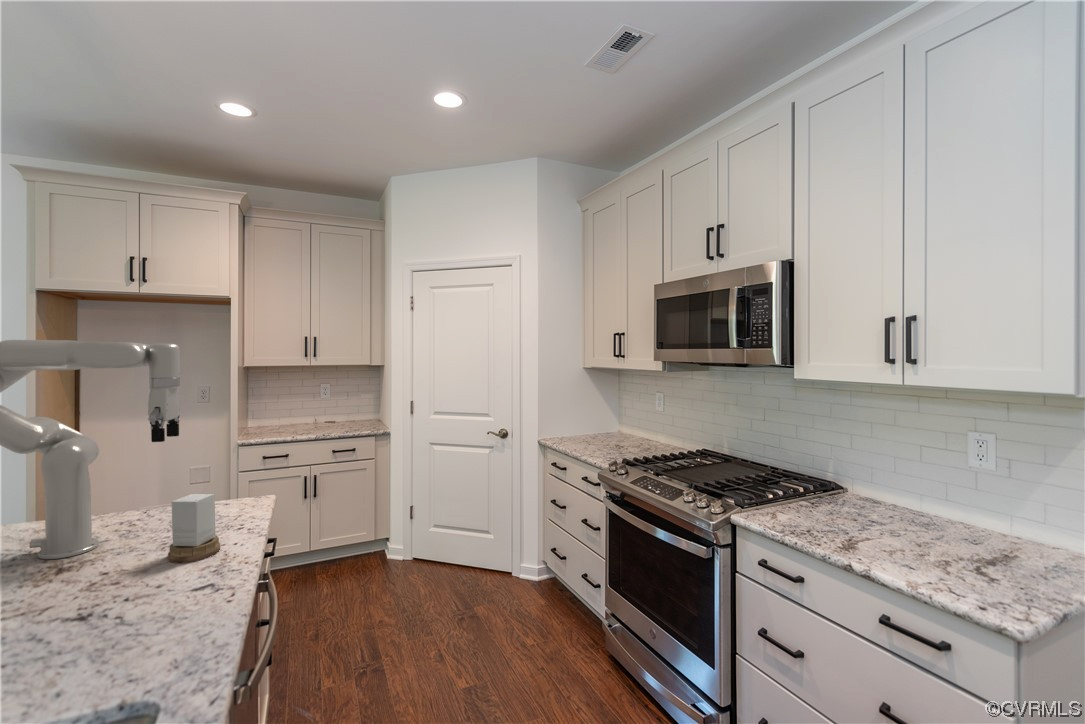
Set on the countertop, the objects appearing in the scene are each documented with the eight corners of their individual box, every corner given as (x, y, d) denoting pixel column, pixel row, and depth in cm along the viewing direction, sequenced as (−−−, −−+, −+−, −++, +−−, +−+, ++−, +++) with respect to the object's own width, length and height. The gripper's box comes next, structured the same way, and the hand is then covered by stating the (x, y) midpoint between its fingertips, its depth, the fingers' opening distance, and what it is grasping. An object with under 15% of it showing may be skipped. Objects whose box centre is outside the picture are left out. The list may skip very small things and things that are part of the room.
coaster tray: (159, 565, 131) (159, 552, 131) (179, 548, 142) (179, 536, 142) (211, 560, 134) (211, 547, 134) (226, 543, 146) (226, 532, 146)
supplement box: (216, 537, 142) (215, 493, 141) (196, 547, 134) (195, 501, 134) (192, 536, 142) (191, 493, 142) (171, 546, 135) (170, 500, 135)
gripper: (163, 382, 158) (164, 435, 158) (135, 385, 141) (136, 444, 141) (190, 381, 160) (191, 433, 160) (166, 385, 143) (167, 443, 143)
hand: (165, 438), depth 151 cm, fingers open, 9 cm apart
